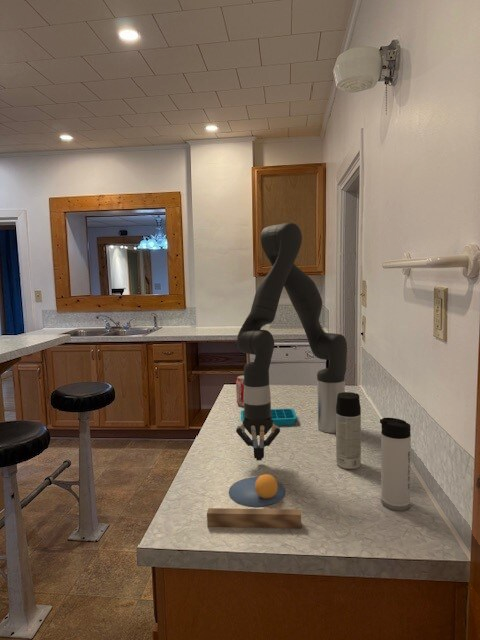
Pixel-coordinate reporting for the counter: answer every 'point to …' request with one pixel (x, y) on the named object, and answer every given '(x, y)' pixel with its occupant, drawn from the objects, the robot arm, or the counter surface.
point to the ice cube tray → (280, 416)
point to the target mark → (253, 493)
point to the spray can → (348, 430)
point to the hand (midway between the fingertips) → (259, 459)
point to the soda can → (240, 390)
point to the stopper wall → (254, 518)
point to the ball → (266, 486)
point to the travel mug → (395, 463)
